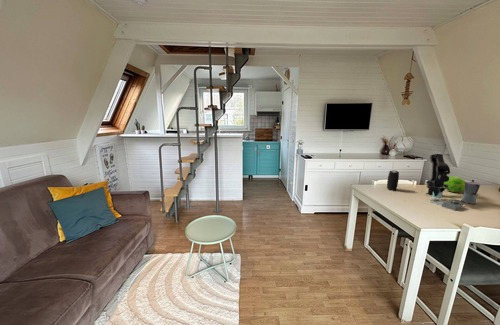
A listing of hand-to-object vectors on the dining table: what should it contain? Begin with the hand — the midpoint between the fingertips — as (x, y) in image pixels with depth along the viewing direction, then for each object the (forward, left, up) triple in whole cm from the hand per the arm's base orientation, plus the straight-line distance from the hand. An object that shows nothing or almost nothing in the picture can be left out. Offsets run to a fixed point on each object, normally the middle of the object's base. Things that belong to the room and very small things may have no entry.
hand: (436, 195), depth 179 cm
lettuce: (-44, -4, -4) cm, 45 cm away
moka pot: (-19, +15, -4) cm, 25 cm away
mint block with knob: (0, 0, -1) cm, 1 cm away
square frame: (+7, +9, -4) cm, 12 cm away
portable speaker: (+7, -34, -4) cm, 35 cm away
